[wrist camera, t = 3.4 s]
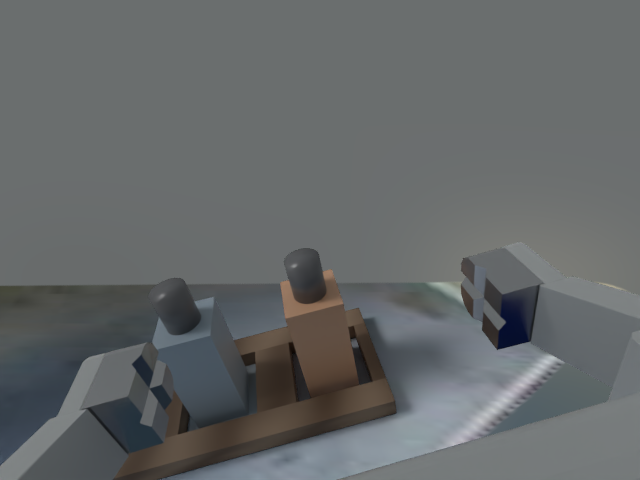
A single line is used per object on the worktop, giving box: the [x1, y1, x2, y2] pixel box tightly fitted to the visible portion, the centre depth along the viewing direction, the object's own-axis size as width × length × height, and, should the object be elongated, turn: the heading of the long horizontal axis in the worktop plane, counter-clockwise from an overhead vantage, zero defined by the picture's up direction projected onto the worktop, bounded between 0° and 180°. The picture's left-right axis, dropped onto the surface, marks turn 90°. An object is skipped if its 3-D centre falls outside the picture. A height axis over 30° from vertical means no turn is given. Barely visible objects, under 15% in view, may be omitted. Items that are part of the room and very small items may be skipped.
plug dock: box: [113, 308, 396, 480], centre depth 31 cm, size 26×10×2 cm, turn 100°
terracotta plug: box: [281, 248, 359, 398], centre depth 28 cm, size 4×4×12 cm
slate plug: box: [148, 278, 249, 428], centre depth 28 cm, size 4×4×12 cm
